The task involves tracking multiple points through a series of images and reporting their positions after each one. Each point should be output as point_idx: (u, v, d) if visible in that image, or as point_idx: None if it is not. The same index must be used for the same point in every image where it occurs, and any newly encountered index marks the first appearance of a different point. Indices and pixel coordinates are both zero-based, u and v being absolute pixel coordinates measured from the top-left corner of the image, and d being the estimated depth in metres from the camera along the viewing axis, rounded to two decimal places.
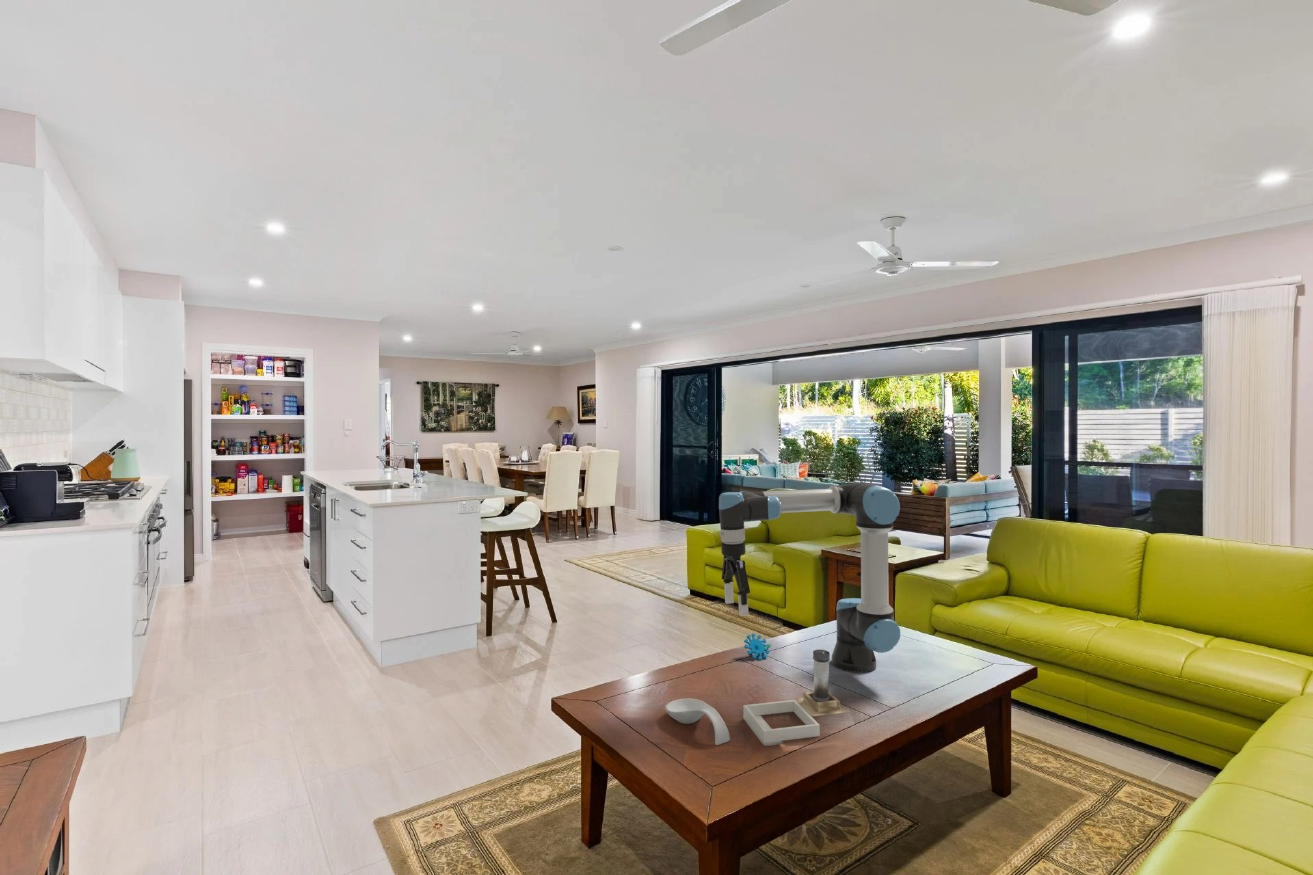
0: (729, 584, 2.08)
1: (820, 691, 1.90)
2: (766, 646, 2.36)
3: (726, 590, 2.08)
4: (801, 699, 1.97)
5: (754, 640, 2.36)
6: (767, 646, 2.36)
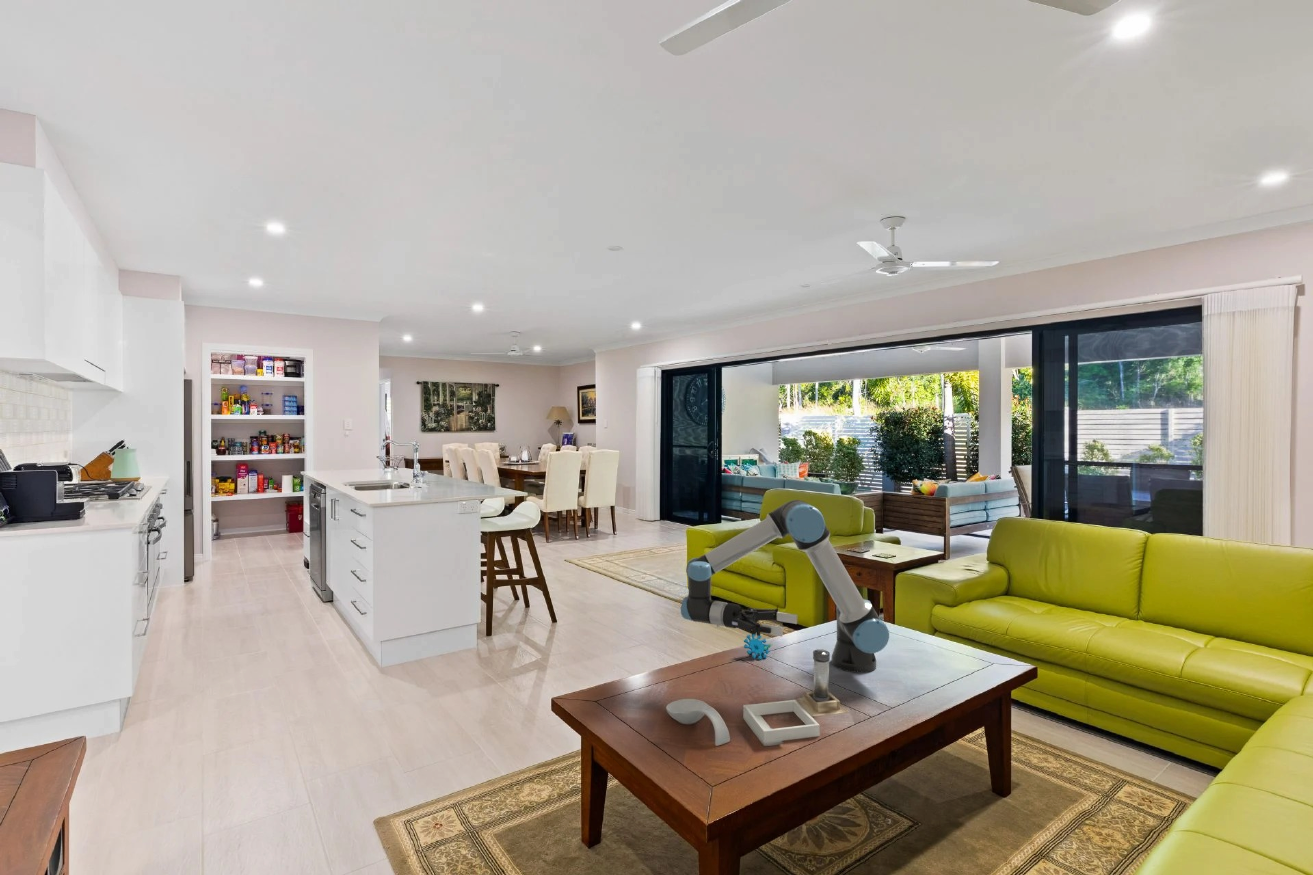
0: (777, 616, 2.06)
1: (820, 691, 1.90)
2: (766, 646, 2.36)
3: (783, 620, 2.05)
4: (801, 699, 1.97)
5: (754, 640, 2.36)
6: (767, 646, 2.36)
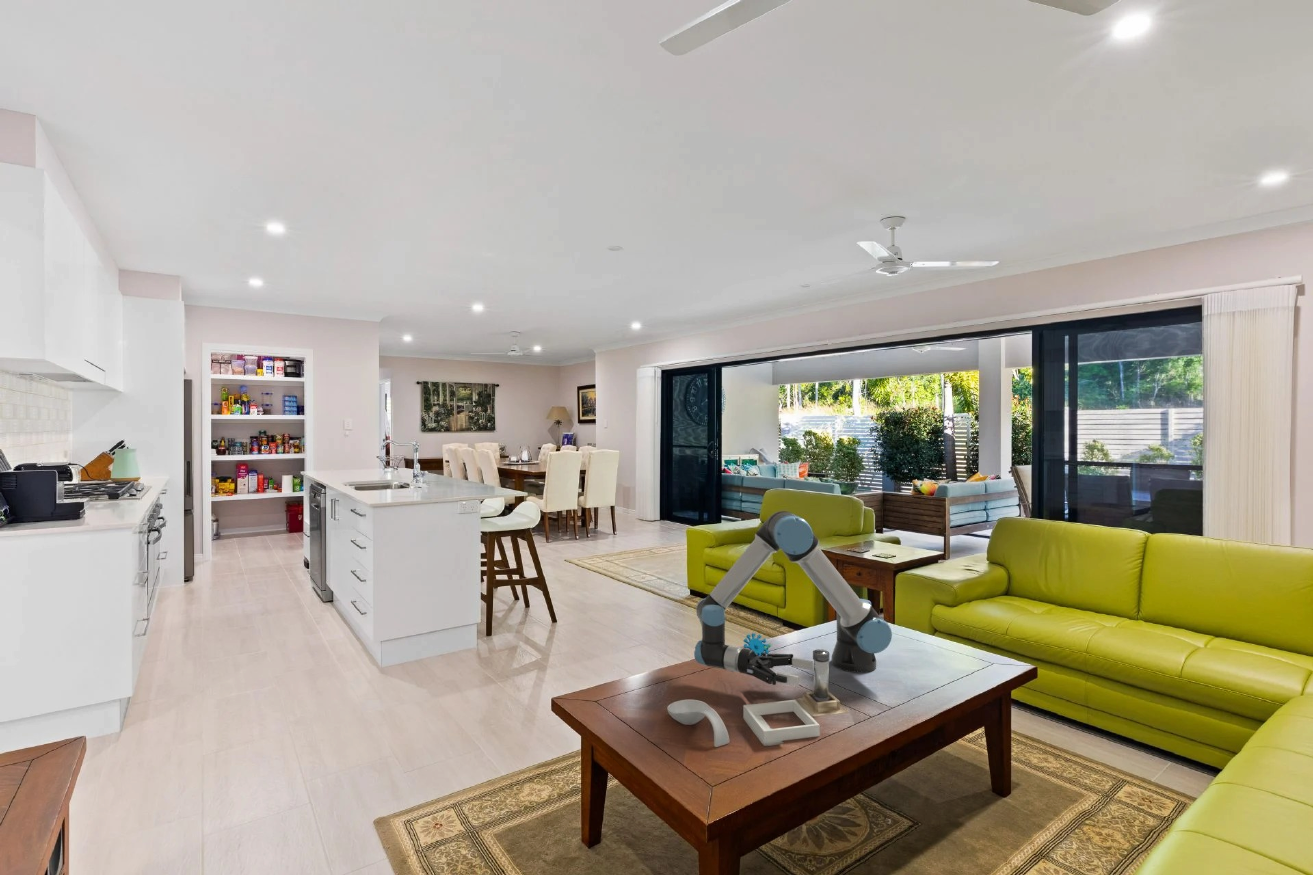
0: (793, 661, 2.03)
1: (820, 691, 1.90)
2: (766, 646, 2.36)
3: (798, 666, 2.02)
4: (801, 699, 1.97)
5: (754, 640, 2.36)
6: (767, 646, 2.36)
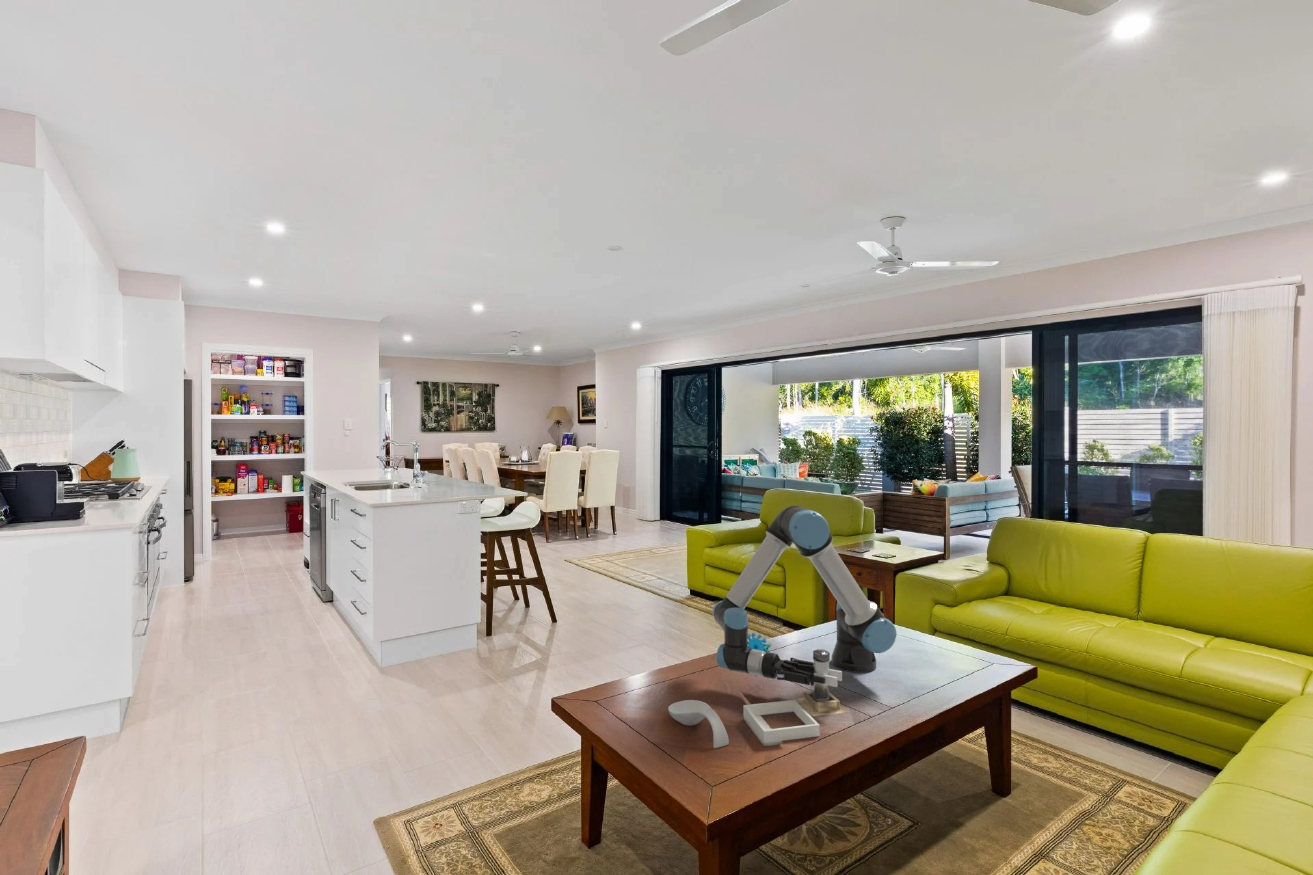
0: None
1: (820, 691, 1.90)
2: (766, 646, 2.36)
3: None
4: (801, 699, 1.97)
5: (754, 639, 2.36)
6: (767, 646, 2.36)
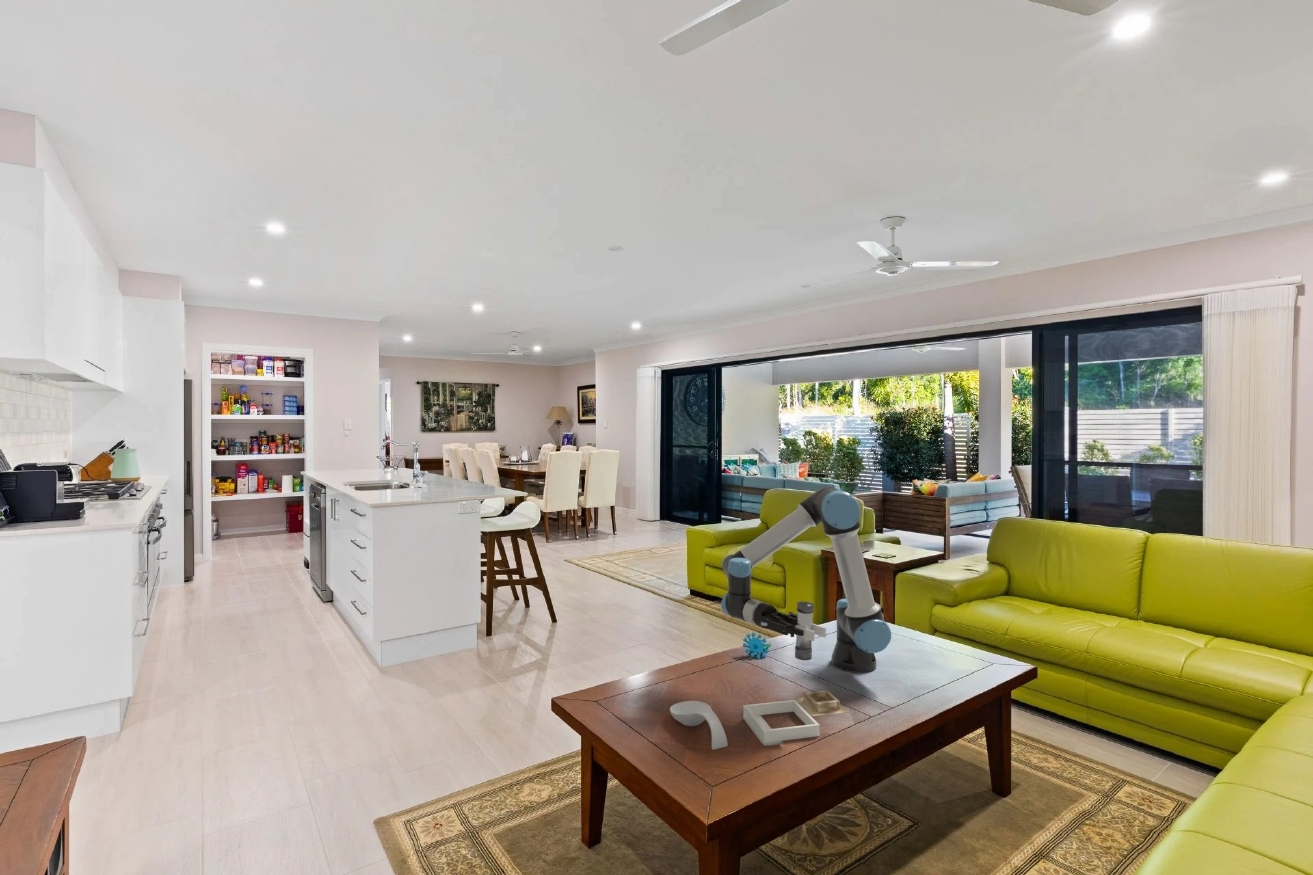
0: None
1: (801, 642, 1.88)
2: (766, 645, 2.36)
3: None
4: (801, 699, 1.97)
5: (753, 639, 2.37)
6: (767, 646, 2.36)
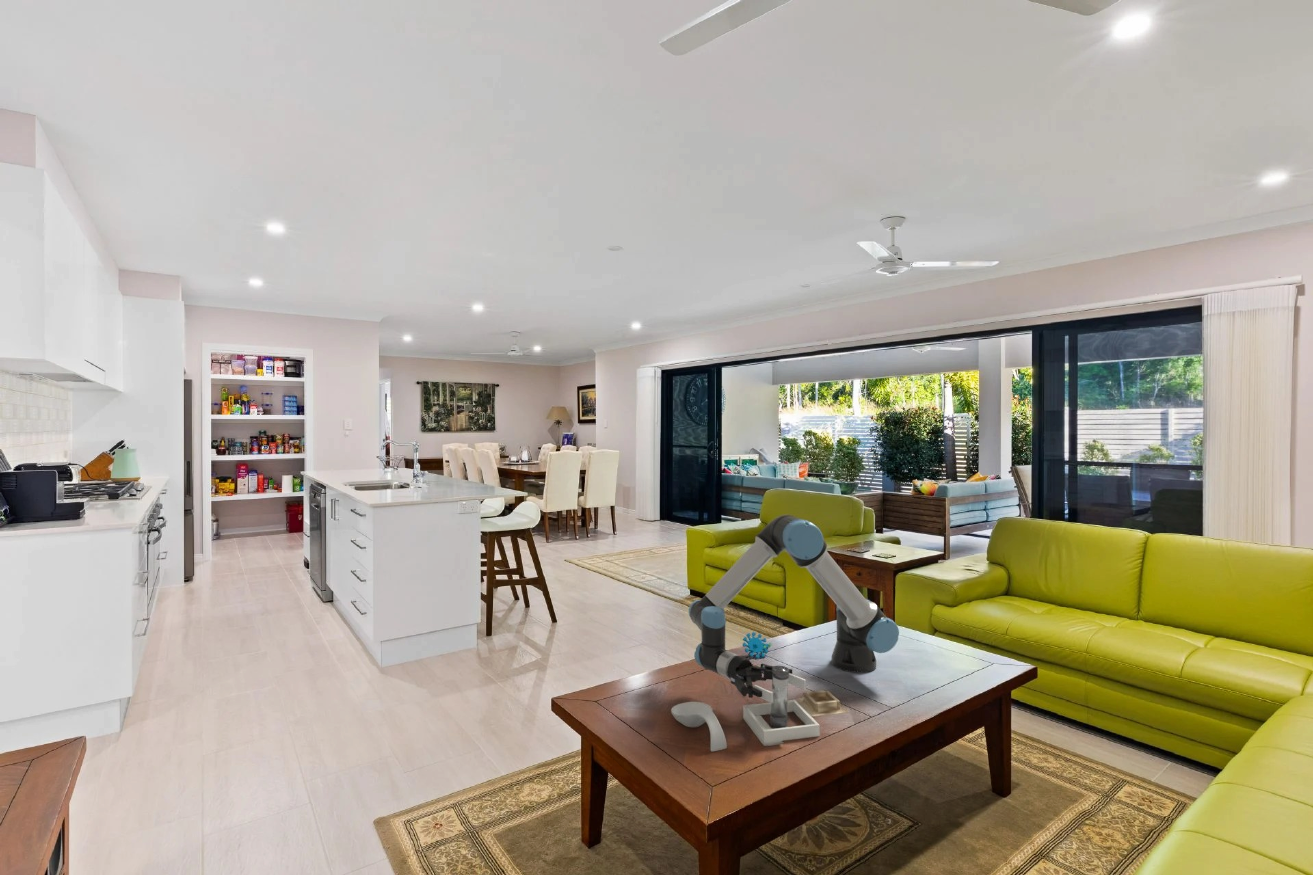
0: None
1: (776, 710, 1.79)
2: (765, 645, 2.36)
3: (792, 683, 1.85)
4: (801, 699, 1.97)
5: (753, 639, 2.37)
6: (766, 645, 2.36)
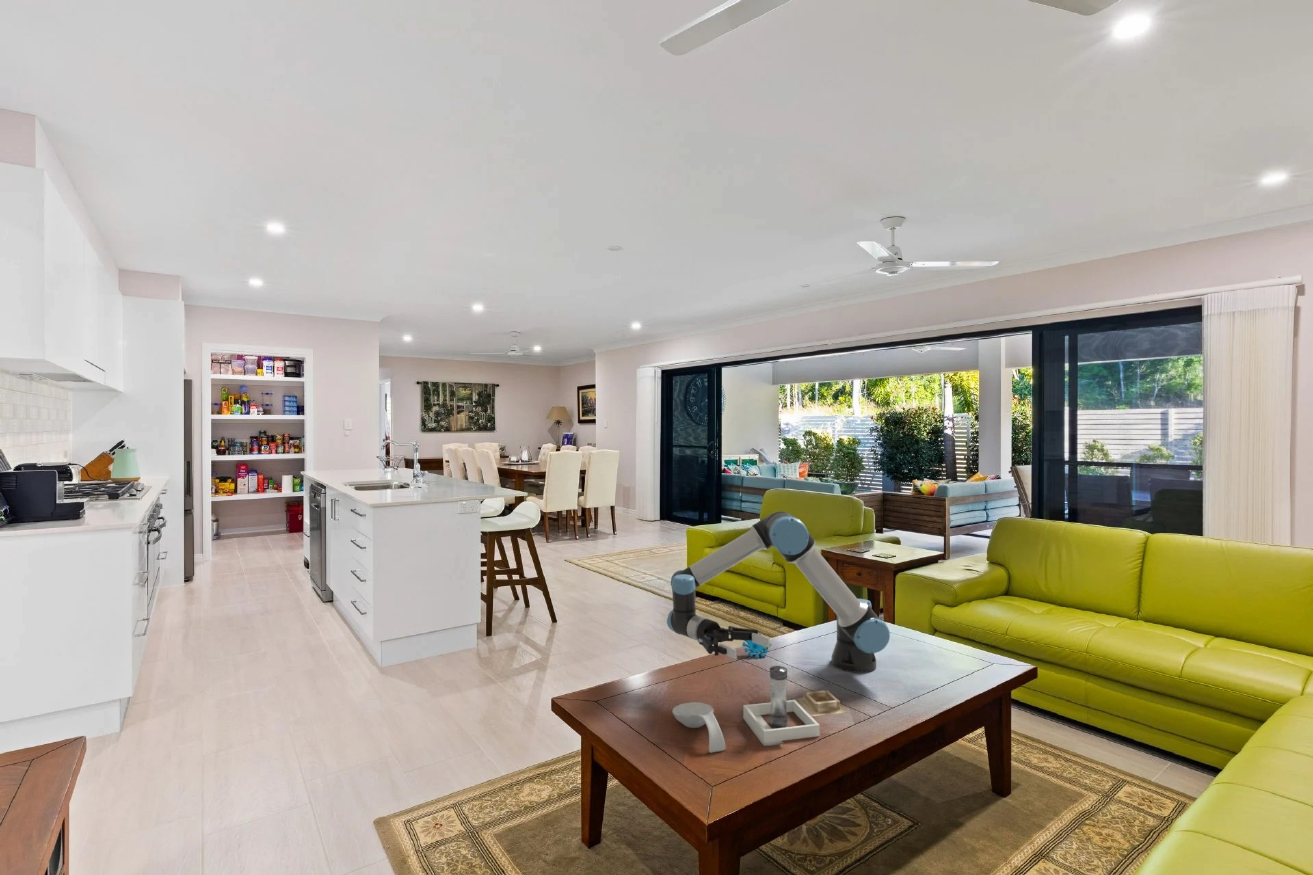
0: (752, 637, 1.96)
1: (775, 710, 1.79)
2: None
3: (757, 642, 1.95)
4: (801, 699, 1.97)
5: None
6: None
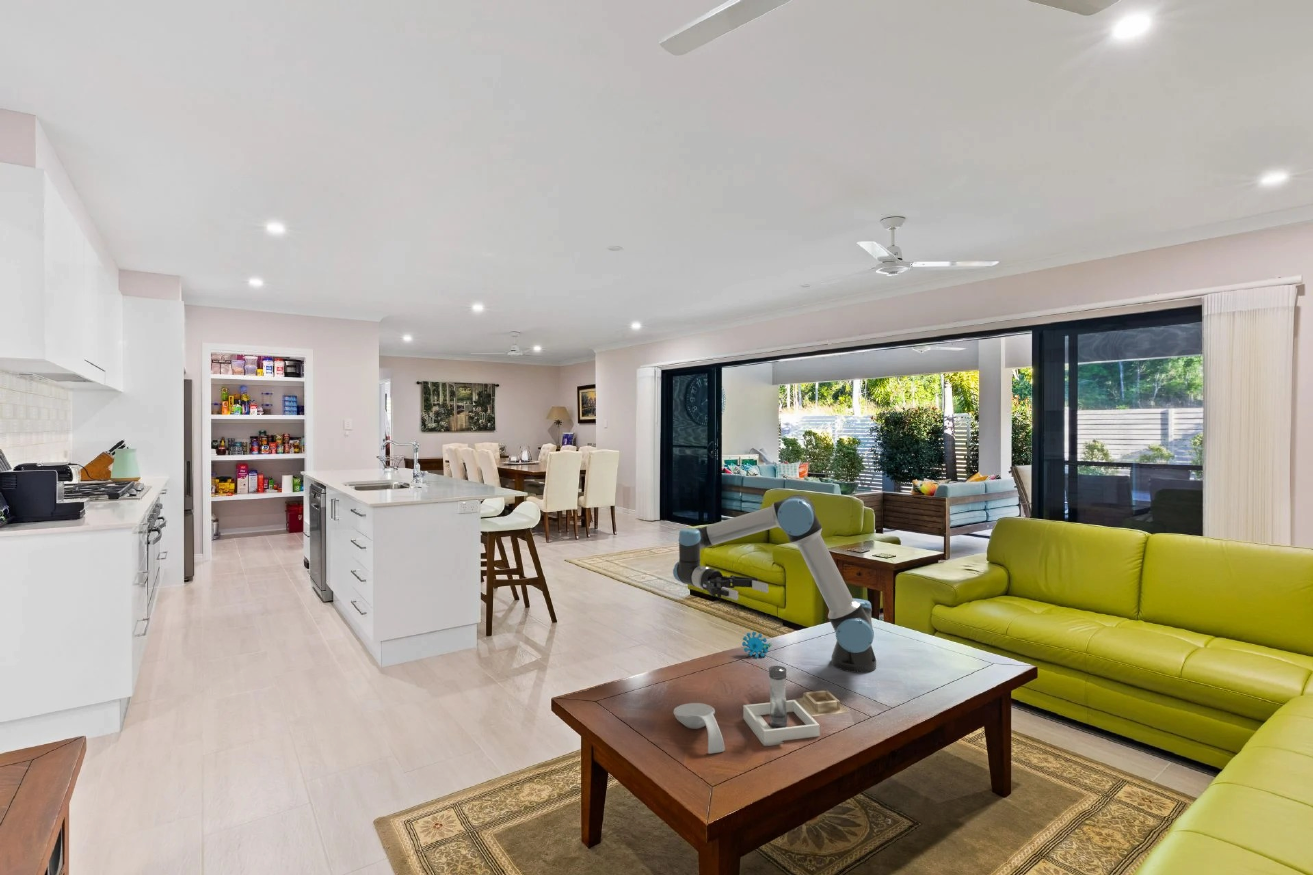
0: (752, 584, 2.13)
1: (775, 710, 1.79)
2: (765, 645, 2.37)
3: (756, 588, 2.11)
4: (801, 699, 1.97)
5: (753, 638, 2.38)
6: (766, 645, 2.37)
